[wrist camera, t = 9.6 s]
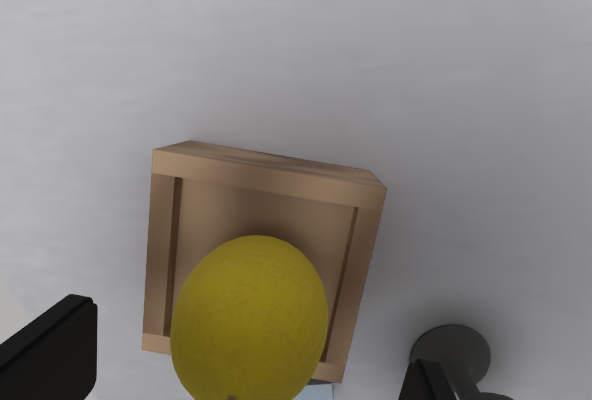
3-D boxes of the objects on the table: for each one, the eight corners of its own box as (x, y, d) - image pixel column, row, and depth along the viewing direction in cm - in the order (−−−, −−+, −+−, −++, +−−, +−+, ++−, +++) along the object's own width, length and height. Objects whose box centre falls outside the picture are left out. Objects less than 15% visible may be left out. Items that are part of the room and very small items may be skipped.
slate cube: (327, 328, 22) (331, 384, 17) (333, 388, 23) (338, 454, 18) (256, 333, 22) (243, 389, 18) (265, 392, 23) (255, 458, 19)
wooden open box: (369, 170, 19) (387, 188, 15) (334, 328, 22) (341, 383, 17) (189, 140, 19) (153, 149, 15) (175, 301, 21) (141, 350, 17)
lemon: (234, 330, 18) (178, 498, 10) (192, 232, 17) (89, 339, 9) (338, 299, 17) (362, 454, 9) (301, 196, 16) (295, 276, 8)
